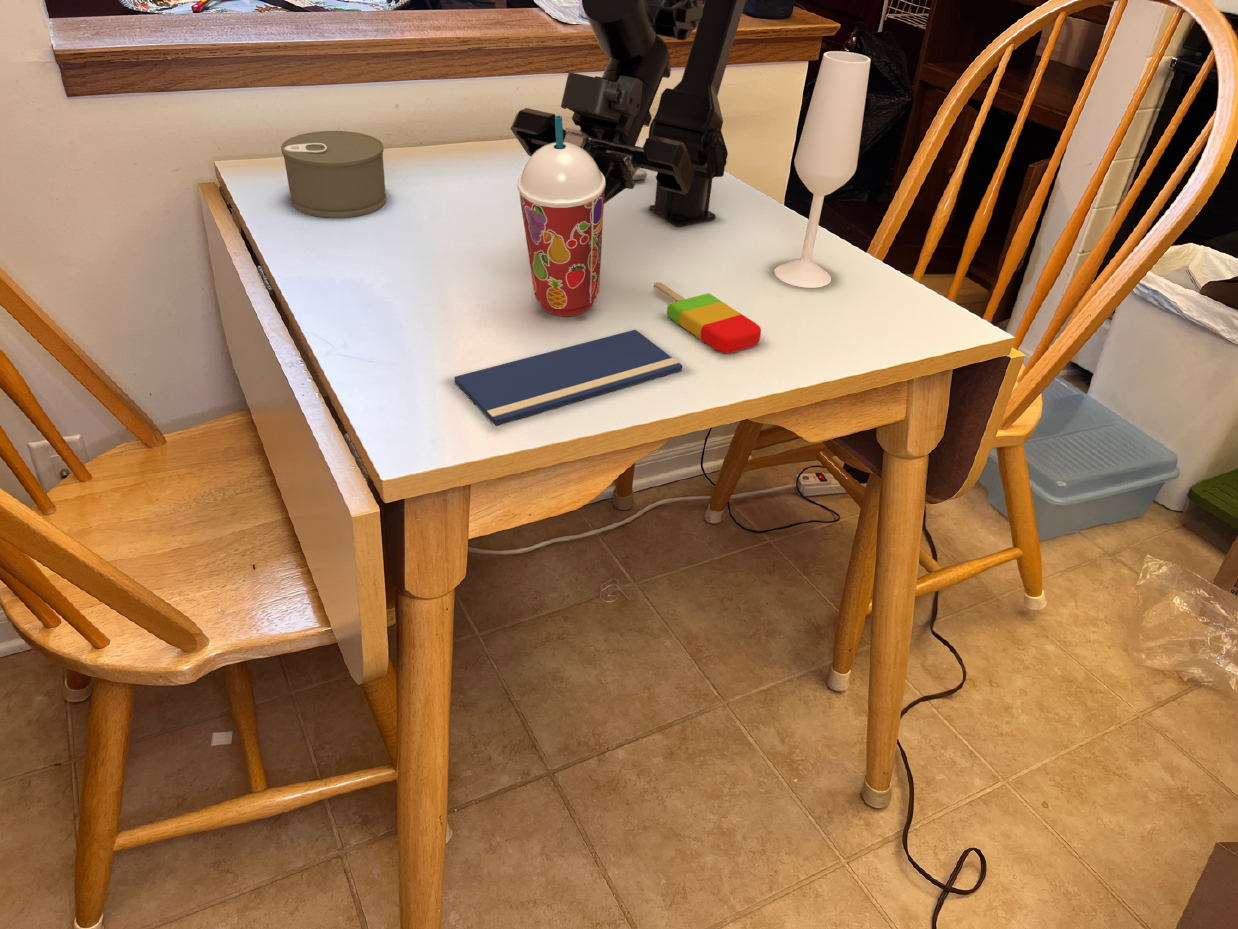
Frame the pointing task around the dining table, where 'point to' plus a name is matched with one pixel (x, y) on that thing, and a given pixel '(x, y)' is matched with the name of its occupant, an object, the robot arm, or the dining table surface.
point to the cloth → (565, 376)
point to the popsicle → (712, 321)
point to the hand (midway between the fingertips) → (571, 225)
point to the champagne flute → (828, 149)
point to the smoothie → (563, 225)
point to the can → (335, 173)
